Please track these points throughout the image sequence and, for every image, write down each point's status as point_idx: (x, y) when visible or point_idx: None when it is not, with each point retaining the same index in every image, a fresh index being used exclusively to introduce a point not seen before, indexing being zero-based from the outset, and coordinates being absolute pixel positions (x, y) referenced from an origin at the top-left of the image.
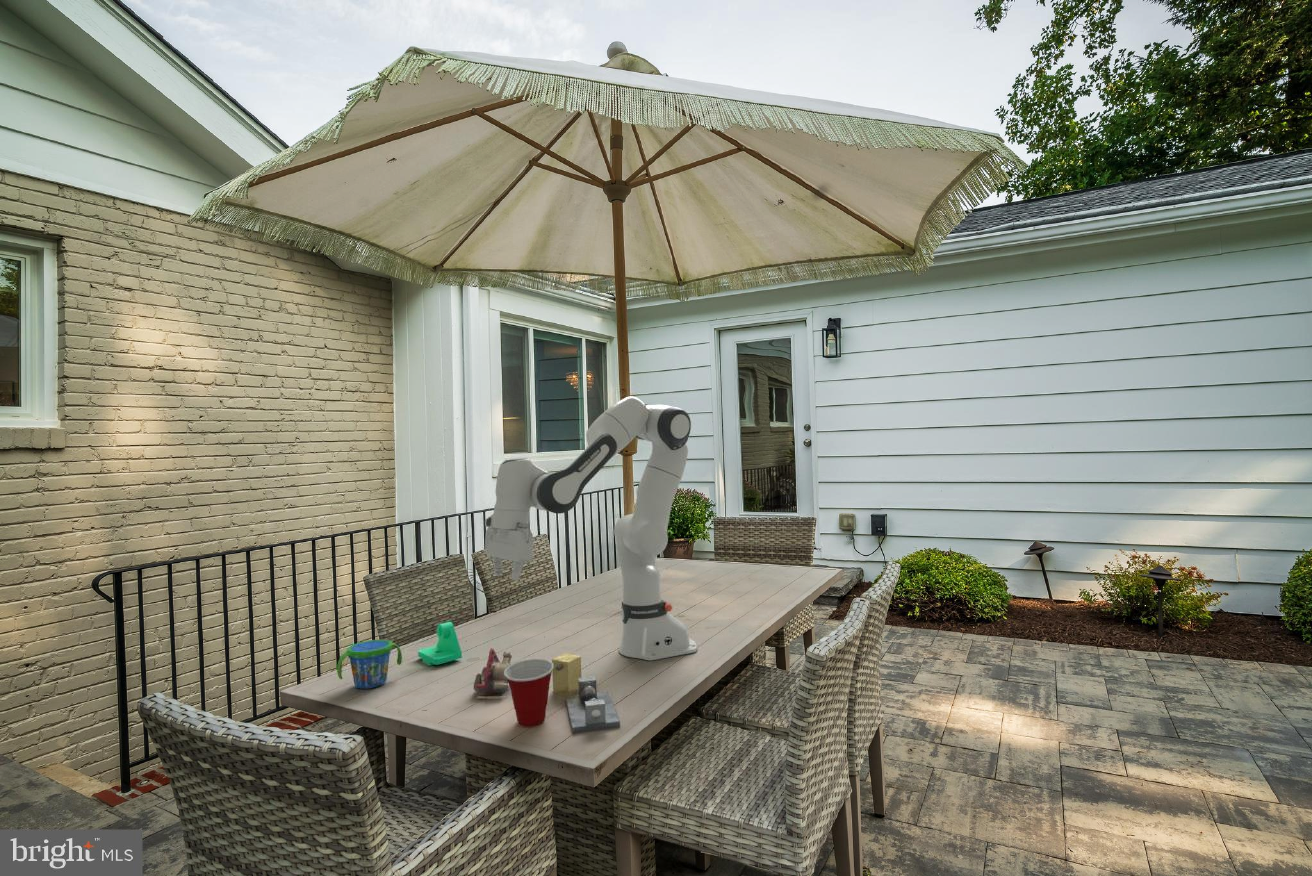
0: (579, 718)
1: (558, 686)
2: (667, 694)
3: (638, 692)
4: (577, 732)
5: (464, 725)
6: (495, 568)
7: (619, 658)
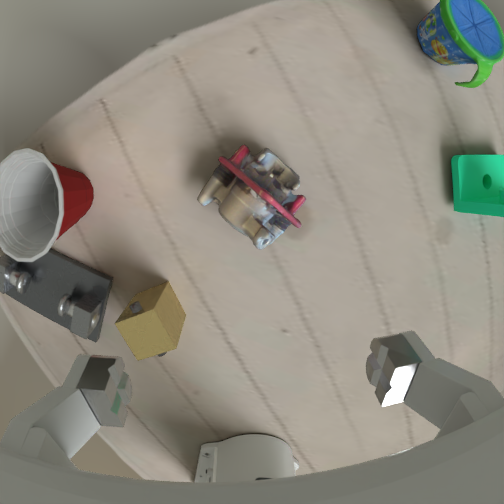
0: None
1: (152, 291)
2: None
3: None
4: None
5: (131, 90)
6: (416, 363)
7: (246, 426)
